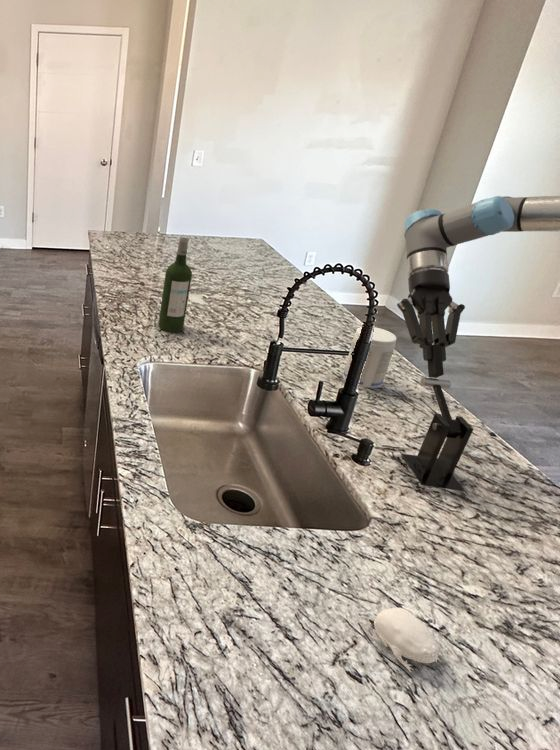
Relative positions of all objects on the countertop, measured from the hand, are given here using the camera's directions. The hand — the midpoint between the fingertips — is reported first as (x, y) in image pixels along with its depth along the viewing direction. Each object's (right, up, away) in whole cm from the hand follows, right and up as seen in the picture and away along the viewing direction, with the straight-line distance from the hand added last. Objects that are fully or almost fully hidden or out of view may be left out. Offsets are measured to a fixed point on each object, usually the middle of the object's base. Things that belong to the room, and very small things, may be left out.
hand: (436, 375), depth 113 cm
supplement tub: (+3, -5, +33) cm, 33 cm away
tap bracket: (-3, -21, -2) cm, 21 cm away
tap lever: (-1, -7, -3) cm, 7 cm away
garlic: (-30, -36, -36) cm, 59 cm away
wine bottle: (-42, +10, +60) cm, 74 cm away
